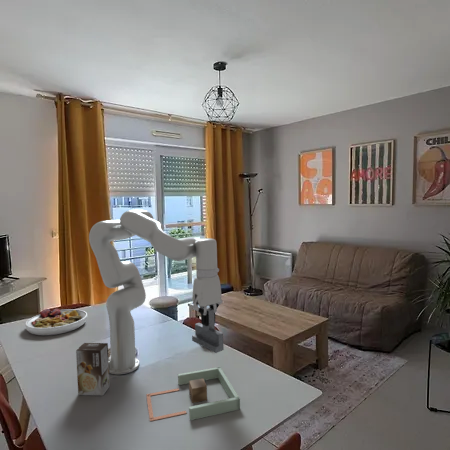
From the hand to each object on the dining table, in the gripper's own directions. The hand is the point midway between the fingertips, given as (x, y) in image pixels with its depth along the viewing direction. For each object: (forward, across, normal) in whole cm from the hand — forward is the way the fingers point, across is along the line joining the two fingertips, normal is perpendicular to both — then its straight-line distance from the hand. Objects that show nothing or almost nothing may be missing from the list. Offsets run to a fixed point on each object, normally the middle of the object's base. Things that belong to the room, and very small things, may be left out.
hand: (208, 323), depth 114 cm
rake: (+8, 0, 0) cm, 8 cm away
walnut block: (+23, +8, +3) cm, 24 cm away
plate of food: (+21, +28, -101) cm, 107 cm away
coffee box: (+22, +33, -24) cm, 47 cm away
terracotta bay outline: (+23, +18, -1) cm, 29 cm away
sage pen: (+23, +5, +4) cm, 24 cm away
